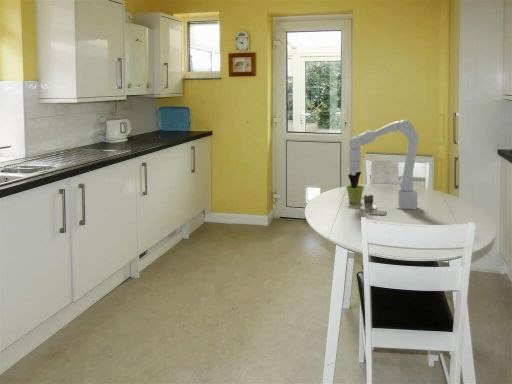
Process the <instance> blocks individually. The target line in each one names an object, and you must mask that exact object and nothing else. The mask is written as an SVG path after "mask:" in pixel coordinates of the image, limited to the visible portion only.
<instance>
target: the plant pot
mask: <svg viewBox="0 0 512 384" xmlns="http://www.w3.org/2000/svg"><path fill="white" fill-rule="evenodd" d="M345 188H346V190H347V195H348V203H349V204H352V205H358V204H361V203H362V197H363V191H364V189H365V186H364V185H360V184H359V185H357V187H356V189H354V188H352V187H351V184H350V185H347V186H346V187H345Z"/></svg>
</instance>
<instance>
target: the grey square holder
mask: <svg viewBox="0 0 512 384" xmlns="http://www.w3.org/2000/svg"><path fill="white" fill-rule="evenodd" d="M359 210H360V211H370V210H375V211H377V210H378V205H373V204H361V205H360V207H359Z"/></svg>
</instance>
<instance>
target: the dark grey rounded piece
mask: <svg viewBox="0 0 512 384" xmlns="http://www.w3.org/2000/svg"><path fill="white" fill-rule="evenodd" d="M361 200H363V205H365V204H372V205H373V204H374V195H373V194H364V196H362V198H361Z"/></svg>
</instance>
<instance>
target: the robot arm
mask: <svg viewBox="0 0 512 384" xmlns="http://www.w3.org/2000/svg"><path fill="white" fill-rule="evenodd" d="M398 131H399V133H401V134H403V135H404V136H405V137H406V138H407V140H408V141H407V148H406V154H405V158H404V159H405V160H404V166H403V171H402V176H401V178H400V179H399V188H398V200H397V201H398V203H397V205H396V207H397V209H398V210H399V209H400V210H401V209H402V210H403V209H404V210H417V209H418V206H419V205H418V204H419V202H418V190H414V188H413V187H414V182H413V178H414V169H415V162H416V161H415V160H416V155H417V150H418V144H419V134H418V133H417V131H416V129H415V126H414V125H413V123H411V122H410V121H409V120H408V119H400V120H398V121H394V122H390V123H389V124H386V125H384V126H383V127H380V128H378V129H376V130H369V129H367V130H365V132H363V133H361V134H356V136H353V137H352V138H350V140H349V141H348V142H349V143H348V144H349V152H348V154H349V155H348V156H349V157H348V160H349V161H348V165H349V166H348V168H347V169H346V171H347V172H350V174H347V176H348V178H349V182H350V185H351V187H352V188H354V189H356V187H357V185H358V184H359V180H360V176H361V173H362V169H361V167H362V165H361V163H362V161H361V159H362V157H361V155H362V152H361V146H365V145H369V144H370V143H372V142H375V141H376V139H377V137H378V138H379V136H382V135H385V134H387V133H391V132H396V133H398Z"/></svg>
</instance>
